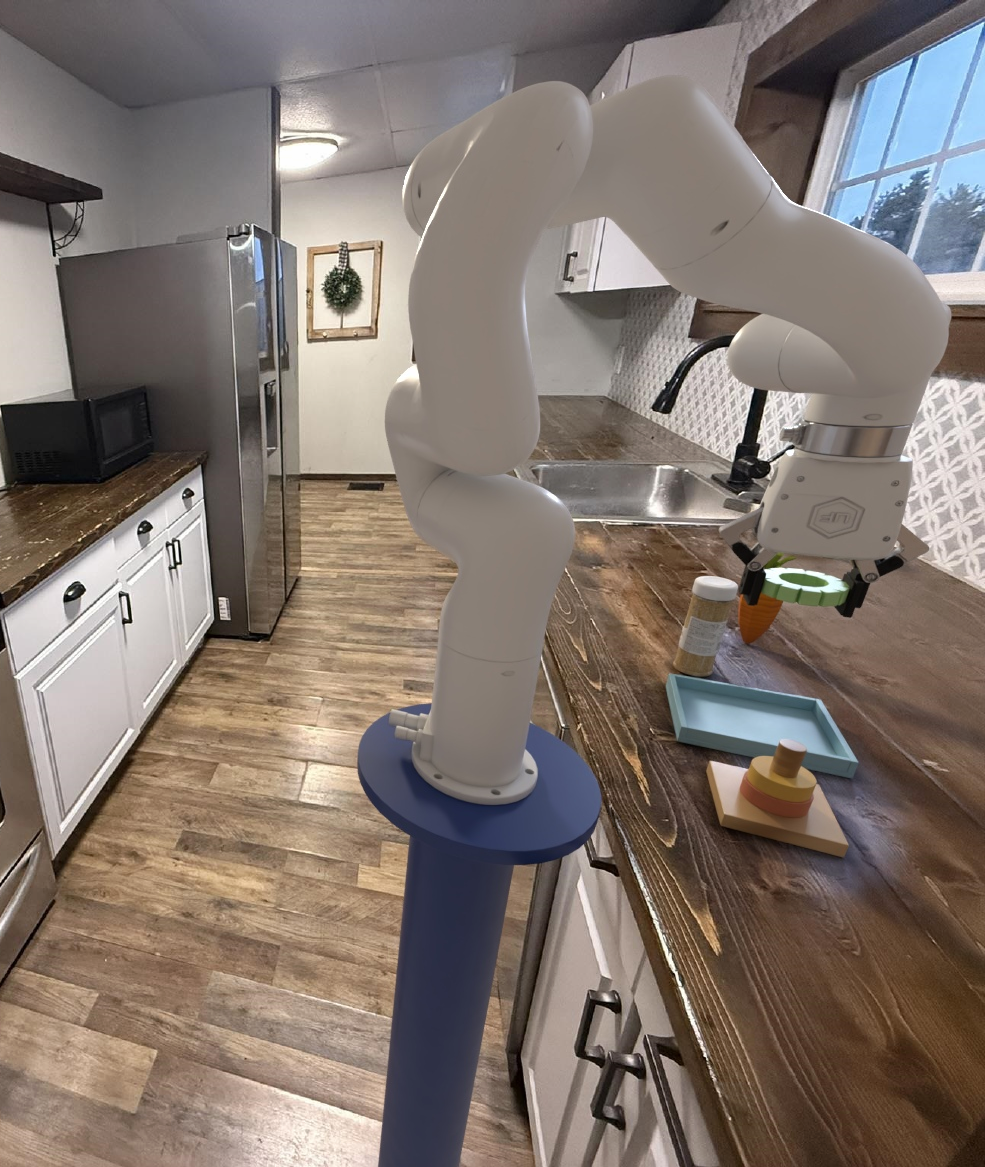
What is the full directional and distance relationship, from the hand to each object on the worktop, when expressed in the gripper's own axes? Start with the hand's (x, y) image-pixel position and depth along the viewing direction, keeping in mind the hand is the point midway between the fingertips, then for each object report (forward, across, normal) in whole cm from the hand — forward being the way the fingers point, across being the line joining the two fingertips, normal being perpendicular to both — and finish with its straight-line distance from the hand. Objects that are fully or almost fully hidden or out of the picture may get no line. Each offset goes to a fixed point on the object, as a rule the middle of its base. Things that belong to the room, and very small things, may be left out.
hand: (794, 605), depth 67 cm
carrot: (+17, +4, +26) cm, 32 cm away
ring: (-1, 0, 0) cm, 1 cm away
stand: (+17, -1, -15) cm, 22 cm away
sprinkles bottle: (+17, -4, +14) cm, 23 cm away
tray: (+17, 0, +1) cm, 17 cm away
